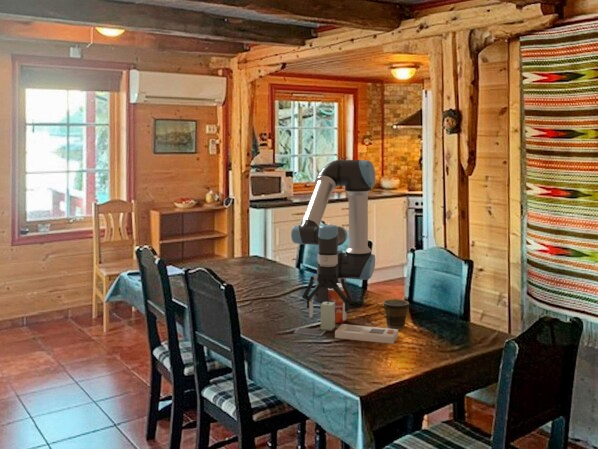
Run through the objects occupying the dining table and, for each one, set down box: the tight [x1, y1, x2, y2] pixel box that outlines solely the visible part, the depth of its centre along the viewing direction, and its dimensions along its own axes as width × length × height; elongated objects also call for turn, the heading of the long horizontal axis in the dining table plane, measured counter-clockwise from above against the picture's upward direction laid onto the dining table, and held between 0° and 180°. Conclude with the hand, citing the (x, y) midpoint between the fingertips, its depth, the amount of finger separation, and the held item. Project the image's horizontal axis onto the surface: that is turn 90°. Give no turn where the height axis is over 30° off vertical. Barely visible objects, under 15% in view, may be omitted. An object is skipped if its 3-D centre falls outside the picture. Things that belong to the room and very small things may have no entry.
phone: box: [293, 327, 327, 337], centre depth 243 cm, size 6×11×1 cm, turn 70°
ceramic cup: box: [377, 298, 410, 330], centre depth 248 cm, size 13×10×10 cm
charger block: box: [320, 302, 336, 331], centre depth 248 cm, size 4×4×10 cm
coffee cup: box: [328, 283, 347, 324], centre depth 257 cm, size 8×8×15 cm
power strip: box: [334, 323, 399, 345], centre depth 237 cm, size 10×22×3 cm, turn 71°
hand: (327, 318), depth 247 cm, fingers open, 13 cm apart
